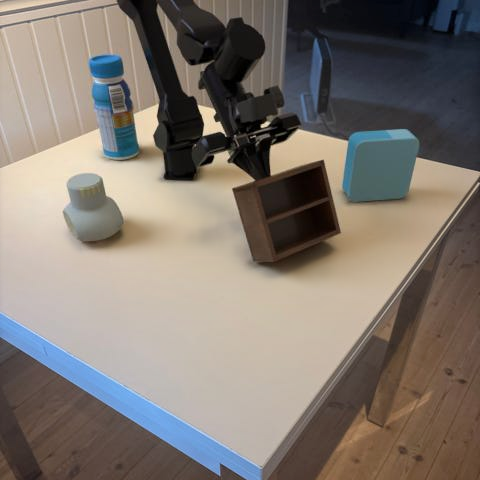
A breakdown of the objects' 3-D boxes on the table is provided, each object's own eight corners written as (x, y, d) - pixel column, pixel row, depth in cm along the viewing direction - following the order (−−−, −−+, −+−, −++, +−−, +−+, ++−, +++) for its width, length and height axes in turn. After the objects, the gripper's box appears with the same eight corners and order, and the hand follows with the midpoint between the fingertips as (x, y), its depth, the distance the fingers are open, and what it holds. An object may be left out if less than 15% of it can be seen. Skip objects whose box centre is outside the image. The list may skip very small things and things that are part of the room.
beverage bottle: (98, 160, 110) (77, 63, 97) (110, 145, 116) (92, 52, 103) (134, 162, 109) (118, 64, 96) (144, 147, 115) (131, 53, 102)
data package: (398, 188, 98) (412, 128, 90) (407, 198, 95) (421, 137, 87) (340, 192, 97) (349, 131, 89) (347, 203, 94) (356, 141, 86)
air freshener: (130, 239, 85) (120, 186, 79) (84, 254, 82) (70, 199, 75) (107, 213, 92) (96, 162, 85) (64, 226, 89) (49, 174, 82)
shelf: (253, 261, 79) (231, 188, 76) (318, 234, 85) (300, 165, 82) (273, 262, 74) (251, 183, 70) (341, 233, 80) (323, 159, 76)
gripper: (195, 80, 68) (241, 183, 68) (298, 58, 76) (339, 151, 76) (173, 121, 78) (213, 210, 78) (266, 98, 86) (302, 179, 86)
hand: (268, 187), depth 80 cm, fingers closed, pressing on shelf
